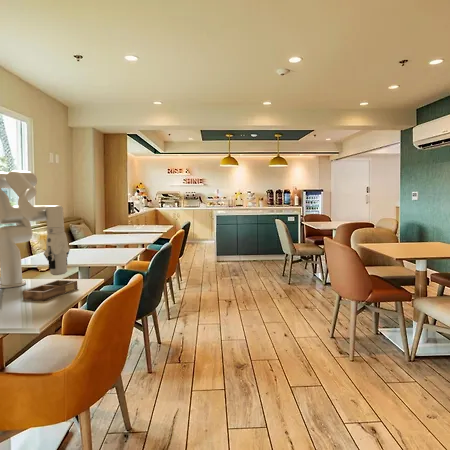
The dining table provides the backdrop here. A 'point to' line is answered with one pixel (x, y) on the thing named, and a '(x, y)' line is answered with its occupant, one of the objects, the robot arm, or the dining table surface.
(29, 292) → the tray
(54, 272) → the can
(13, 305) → the dining table surface
